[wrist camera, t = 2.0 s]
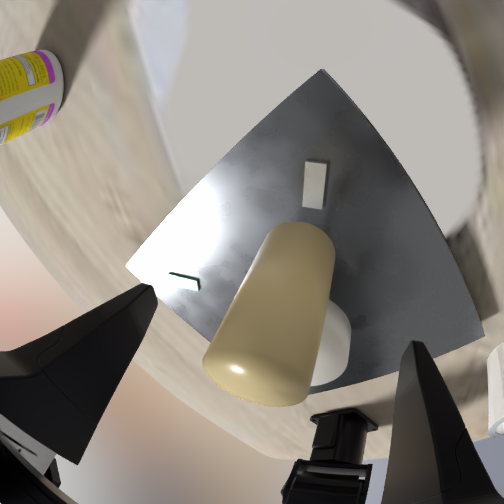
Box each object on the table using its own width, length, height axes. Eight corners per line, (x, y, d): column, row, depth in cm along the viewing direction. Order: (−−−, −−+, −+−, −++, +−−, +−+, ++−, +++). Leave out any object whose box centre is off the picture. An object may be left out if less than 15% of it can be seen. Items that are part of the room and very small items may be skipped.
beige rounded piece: (338, 369, 19) (315, 474, 13) (241, 348, 20) (199, 444, 15) (388, 215, 12) (400, 378, 6) (231, 191, 13) (129, 313, 7)
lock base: (481, 320, 17) (489, 354, 14) (288, 387, 29) (280, 413, 26) (324, 69, 12) (316, 68, 9) (135, 255, 24) (113, 278, 21)
